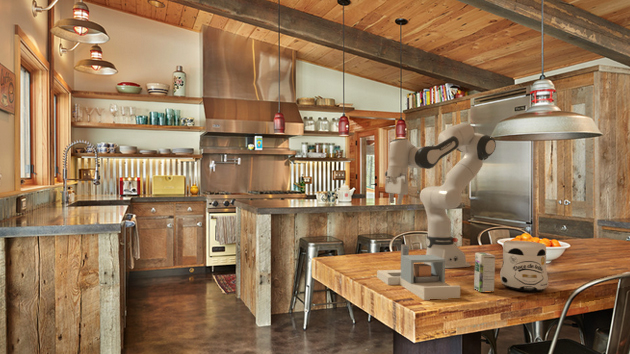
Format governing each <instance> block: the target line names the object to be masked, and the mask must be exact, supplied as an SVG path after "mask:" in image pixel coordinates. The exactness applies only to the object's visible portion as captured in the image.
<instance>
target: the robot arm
mask: <svg viewBox="0 0 630 354" xmlns="http://www.w3.org/2000/svg"><path fill="white" fill-rule="evenodd" d="M490 137H491V138H490ZM437 142H438V143H437V144H435V145H434V146H432V145H427V146H418V147H417V146H415V145H414V144H412V142H410V141H409V139H408V138H396V139H392V141H391V143H390V145H389V150H388V158H389V159H388V160H389V162H388V166H387V170H386V171H385V172H384V177H385V180H384V191H385V193H388V199H389V203H390V204H394V203H395V197H394V196H395V195H397V200H396V204H397V205H398V206H399V205H400V206H401V205H402V204H403V202H402V201H403V199H404V195H405V196H406V195H408V194H409V178H408V171H409V170H408V169H409V168H411V169H412V168H416V169H428V170H430V169H433V168H434V167H435V166H436V165H437V164H438V163H439V161H440V160H441V159H442V158H445V157H446V156H447V155H449V154H451V153H452V152H453V151H455V150H456V151H458V152H460V153H464V156H463V157H462V158H461V159H460V160H459V161H458V162H457V163H456V164H455V165H454V166H453V167H452V168H451V169H449V171H448V172H447V173H446V174H445V181H444V182H443V184H442V185H431V186H426V187H424V188H423V189H422V190H421V191H420V194H419V200H420V202H421V203H422V205H423V206H424V210H425V214H426V219H427V235H426V251H425V252H426V253H425V255H435V256H438V257H440V258H443V259H445V269H454V268H455V269H456V268H465V267H466V268H468V267H472V266H471V263H470V262H468V261H467V258H466V254H465V253H464V251H463V250H462V249H460V248H459V247H458V246H457V245H455V243H458V241H459V239H458V238H457V237H452V236H451V235H452V233H451V229H452V227H451V226H452V225H451V224H452V222H451V219H450V217H449V216H448V214H447V211H446V210H453V209H456V208H458V207H459V206H460V205H461V202H462V194H463V191H464V189H465V188H466V187H467V186H468V185H469V184H470V183H471V182H472V180H473V179H474V178H475V177H476V176H477V175H478V173H479V172H480V171H481V169H482V167H483V163H484V162H483V161H485V160H487V159H488V158H489V157H491V156H492V155H493V153H494V152H495V150H496V145H497V143H496V140H495V138H494V137H492V136H490V135H488V134H483V133H478V132H475V128H474V127H473V126H472V124H470V123H468V122H461V123H457V124H454V125H451V126H450V127H447V128H445V129H444V130H442V131H440V133H439V134H438V135H437ZM425 263H426V264H428V265H430V266H431V262H425ZM425 263H423V264H425Z"/></svg>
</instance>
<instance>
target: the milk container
mask: <svg viewBox="0 0 630 354" xmlns="http://www.w3.org/2000/svg"><path fill="white" fill-rule="evenodd" d="M499 276H500V282H501V284H502V285H503V286H505V287H506V288H509V289H512V290H516V291H519V292H540V291H544V290H546V289H547V288H548V285H549V274H548V271H547V246H546V244H544V243H540V242H536V241H534V242H533V241H525V240H506V241H503V245H502V265H501V269H500V273H499Z"/></svg>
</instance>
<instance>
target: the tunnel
mask: <svg viewBox="0 0 630 354" xmlns="http://www.w3.org/2000/svg"><path fill="white" fill-rule="evenodd" d="M425 262H431V273H433V274H435V275H437V276H439V281H440V282H442V283H446V268H445V259H443V258H440V257H438V256H435V255H426V254H409V255H401V254H400V270H401V278H402V279H404V280H405V281H407V282H409V283H410V284H413V278H414V264H424V263H425Z"/></svg>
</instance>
